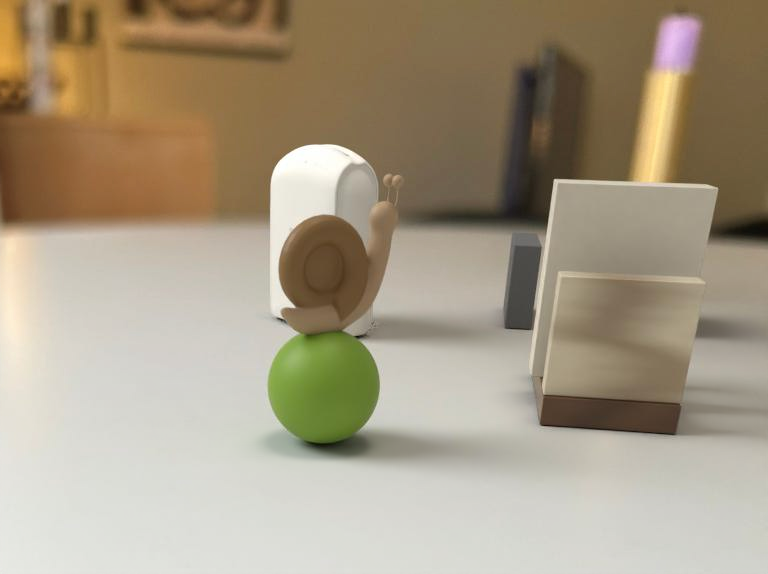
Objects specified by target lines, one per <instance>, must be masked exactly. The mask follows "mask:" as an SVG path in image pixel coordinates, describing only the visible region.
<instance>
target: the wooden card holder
mask: <svg viewBox="0 0 768 574" xmlns="http://www.w3.org/2000/svg"><path fill="white" fill-rule="evenodd" d="M706 288H707V282H706V281H704V280H703V279H702V278H701V277H700V278H696V277H675V276H654V275H634V274H613V273H592V272H572V271H559V272H558V277H557V284H556V291H555V298H554V305H553V312H552V319H551V326H550V333H549V340H548V347H547V354H546V361H545V368H544V375H543V377H534V376H531V379H532V385H533V391H534V392H533V393H534V398H535V403H536V410H537V417H538V423H539V425H542V426H555V427H570V428H582V429H584V428H585V429H598V430H600V429H601V430H611V431H624V432H625V431H627V432H638V433H639V432H640V433H641V432H642V433H655V434H670V435H676V434H677V432H678V431H677V430H678V427H679V421H680V417H681V412H682V407H683V406H682V404H681V403H682V401H683V397H684V392H685V387H686V383H687V378H688V372H689V368H690V363H691V358H692V353H693V348H694V344H695V339H696V335H697V330H698V325H699V322H700V321H699V320H700V316H701V311H702V307H703V306H702V305H703V301H704V297H705V292H706Z"/></svg>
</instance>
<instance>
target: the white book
mask: <svg viewBox="0 0 768 574" xmlns="http://www.w3.org/2000/svg"><path fill="white" fill-rule="evenodd" d="M718 193H719V187H716V186H713V185H711V184H707V183H682V182H681V183H680V182H679V183H678V182H652V181H651V182H650V181H625V180H624V181H621V180H597V179H596V180H594V179H568V178H567V179H566V178H563V179H562V178H554V179H553V186H552V192H551V197H550V198H551V199H550V207H549V213H548V222H547V229H546V234H545V235H546V237H545V243H544V250H543V258H542V264H541V273H540V278H539V279H540V280H539V287H538V295H537V302H536V310H535V317H534V324H533V332H532V339H531V345H530V354H529V361H528V366H529V373H530V377H532V376H534V377H543V375H544V368H545V361H546V354H547V347H548V340H549V333H550V326H551V319H552V312H553V305H554V298H555V291H556V284H557V277H558V272H559V271H572V272H592V273H613V274H634V275H654V276H675V277H696V278H700V279H701V275H702V271H703V267H704V261H705V257H706V256H705V255H706V252H707V246H708V242H709V237H710V232H711V227H712V223H713V218H714V213H715V209H716V208H715V207H716V204H717V203H716V202H717V199H718V195H719V194H718Z"/></svg>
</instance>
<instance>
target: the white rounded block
mask: <svg viewBox="0 0 768 574" xmlns="http://www.w3.org/2000/svg"><path fill="white" fill-rule="evenodd" d="M269 196H270V202H269V211H270V212H269V308H270V313H271V315H272V316H274V317H276V318H279V319H281V320H284V319H283V317H282V316H281V313H280V311H281V309H282V308H285V307H290V308H295V306H294V305H293V304H292V303H291V302H290V301H289V299H288V298H287V297H286V295H285V294H284V292H283V290H282V288H281V285H280V281H279V273H278V266H279V258H280V253H281V250H282V247H283V245H284V243H285V241H286V239H287V237H288V236H289V234H290V233H291V232H292V230H293V229H294V228H295V227H296V226H297V225H299V224H300V223H301V222H303V221H304V220H306V219H308V218H310V217H313V216H317V215H323V214H326V215H334V216H337V217H340V218H342V219H343V220H345V221H347V222H348V223H350V224H351V225H352V226H353V227H354V228H355V229H356V230H357V232H358V233H359V235H360V237H361V238H362V240H363V243H364V246H365V249H366V247H367V243H368V239H369V235H370V224H369V215H370V212H371V210H372V208H373V207H374V206H375V205H376V204H377V203H379V182H378V177H377V175H376V172H375V170H374V168H373V167H372V166H371V164H370V163H369V162H368V161H367V160H366V159H365V158H363V157H362V156H361V155H359V154H358V153H357V152H354V151H353V150H351V149H348V148H346V147H343V146H341V145H338V144H331V143H330V144H328V143H327V144H307V145H304V146H303V145H302V146H300V147H298V148H295V149H293V150H292V151H290V152H288V153H287V154H286V155H284V156H283V157H282V158H281V159H280V160H279V161H278V162H277V164H276V165H275V167H274V169H273V170H272V175H271V179H270V195H269ZM373 310H374V303H373V304H372V306H371V307H370V309H369V310H368V311H367V312H366V313H365V314H364V315H363V316H362V317H361V318H360V319H358V320H357V321H355V322H354V323H353V324H351V325H350V326H348V327H347V328H345V329H344V330H342V331H344V332H347V333H349V334H351V335H352V336H354V337H357V336H358V337H360V336H363V335H365V334H366V333H367V331H370V330H371V327H372V323H373V322H372V321H373V312H374V311H373Z"/></svg>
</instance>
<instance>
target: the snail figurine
mask: <svg viewBox="0 0 768 574" xmlns="http://www.w3.org/2000/svg"><path fill="white" fill-rule="evenodd" d="M382 182H383V184H384V186H385V187H387V199H386V200H383V201H382V200H381V201H378V203H377V204H376V205H375V206H374V207H373V208H372V210H371V212H370V215H369V224H370V235H369V239H368V243H367V247H366V249H365V246H364V243H363V240H362V238H361V237H360V235H359V233H358V232H357V230H356V229H355V228H354V227H353V226H352V225H351V224H350V223H348V222H347V221H345V220H343V219H342V218H340V217H337V216H334V215H326V214H323V215H317V216H313V217H310V218H308V219H306V220H304V221H303V222H301V223H300V224H299V225H297V226H296V227H295V228H294V229H293V230H292V232H291V233H290V234H289V236H288V237H287V239H286V241H285V243H284V245H283V247H282V250H281V253H280V258H279V266H278V273H279V281H280V285H281V288H282V290H283V292H284V294H285V295H286V297H287V298H288V299H289V301H290V302H291V303H292V304H293V305H294V306H295V308H290V307H285V308H282V309H281V311H280V313H281V316H282V317H283V319H282V320H283V321H285V322H286V324H288V325H289V327H290V328H291V329H293V330H294V331H295V332H297V334H296V335H294V336H293V337H291V338H290V339H289V340H287V342H285V344H283V345H282V346H281V347H280V349H279V350H278V351H277V353H276V355H275V356H274V358H273V360H272V362H271V365H270V368H269V372H268V376H267V394H268V400H269V401H268V402H269V404H270V407H271V410H272V412H273V414H274V416H275V417H276V419H277V420H278V422H279V423H280V425H282V426H283V427H284V429H285V430H286V431H288V432H289V433H290V434H292V435H293V436H295V437H296V438H298V439H301V440H304V441H306V442H309V443H314V444H332V443H333V444H334V443H337V442H340V441H343V440H346V439H348V438H350V437H352V436H354V435H355V434H356V433H358V432H359V431H360V430H361V429H363V427H364V426H365V425H366V424H367V423H368V421H370V419H371V417H372V416H373V414H374V412H375V409H376V407H377V405H378V401H379V398H380V389H381V379H380V373H379V369H378V366H377V362H376V360H375V358H374V357H373V355H372V353H371V352H370V350H369V349H368V347H367V346H366V345H365V344H364V343H363V342H362V341H361V340H360V339H358V338H357V337H356V336H352V335H351V334H349V333H347V332H344V331H342V330H344V329H345V328H347V327H348V326H350V325H351V324H353V323H354V322H355V321H357V320H358V319H360V318H361V317H362V316H363V315H364V314H365V313H366V312H367V311H368V310H369V309H370V307H371V306H372V304H373V305H374V302H375V300H376V298H377V296H378V294H379V291H380V289H381V286H382V283H383V280H384V277H385V274H386V271H387V266H388V262H389V257H390V254H391V248H392V247H391V246H392V239H393V236H394V235H393V234H394V231H395V229H396V228H397V225H398V223H399V211H398V208H397V206H398V201H399V193H400V188H402V187H403V185H404V178H403V176H402V175H400V174H396V175H393V174H392V173H387V174H385V175H384V177H383V179H382ZM392 186H393V187H394V188H395V189H396V198H395V203H392V202H390V195H391V194H390V192H391V187H392Z"/></svg>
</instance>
